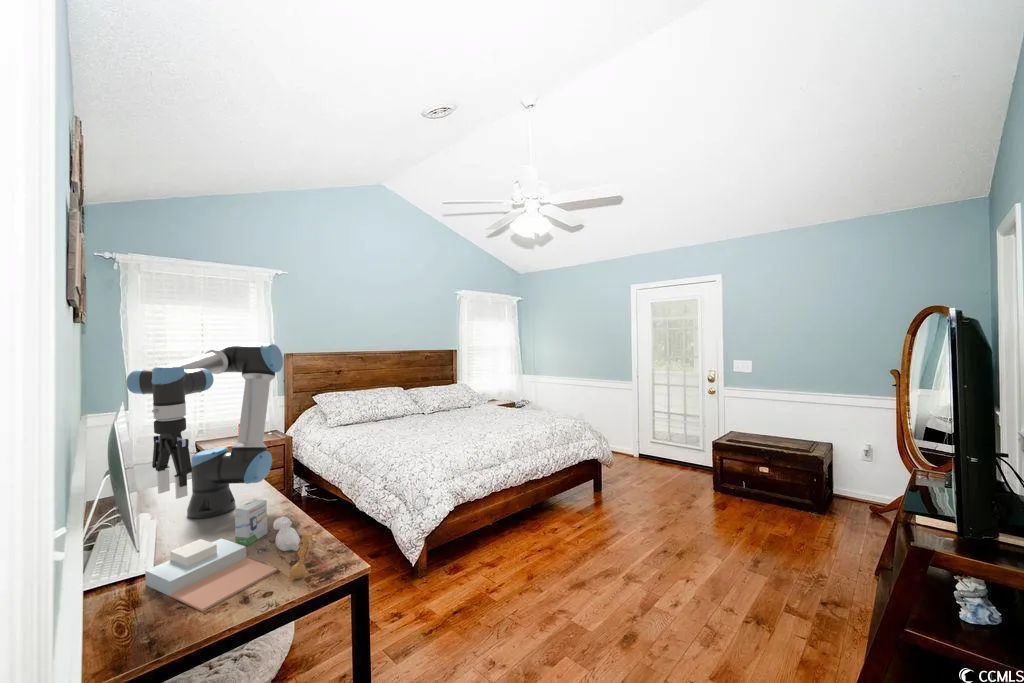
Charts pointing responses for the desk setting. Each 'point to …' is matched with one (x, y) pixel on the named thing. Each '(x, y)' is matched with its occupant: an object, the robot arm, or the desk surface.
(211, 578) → the mat
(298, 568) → the figurine
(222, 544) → the plate
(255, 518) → the ink box
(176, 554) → the coaster
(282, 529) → the white tied bag
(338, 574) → the desk surface
